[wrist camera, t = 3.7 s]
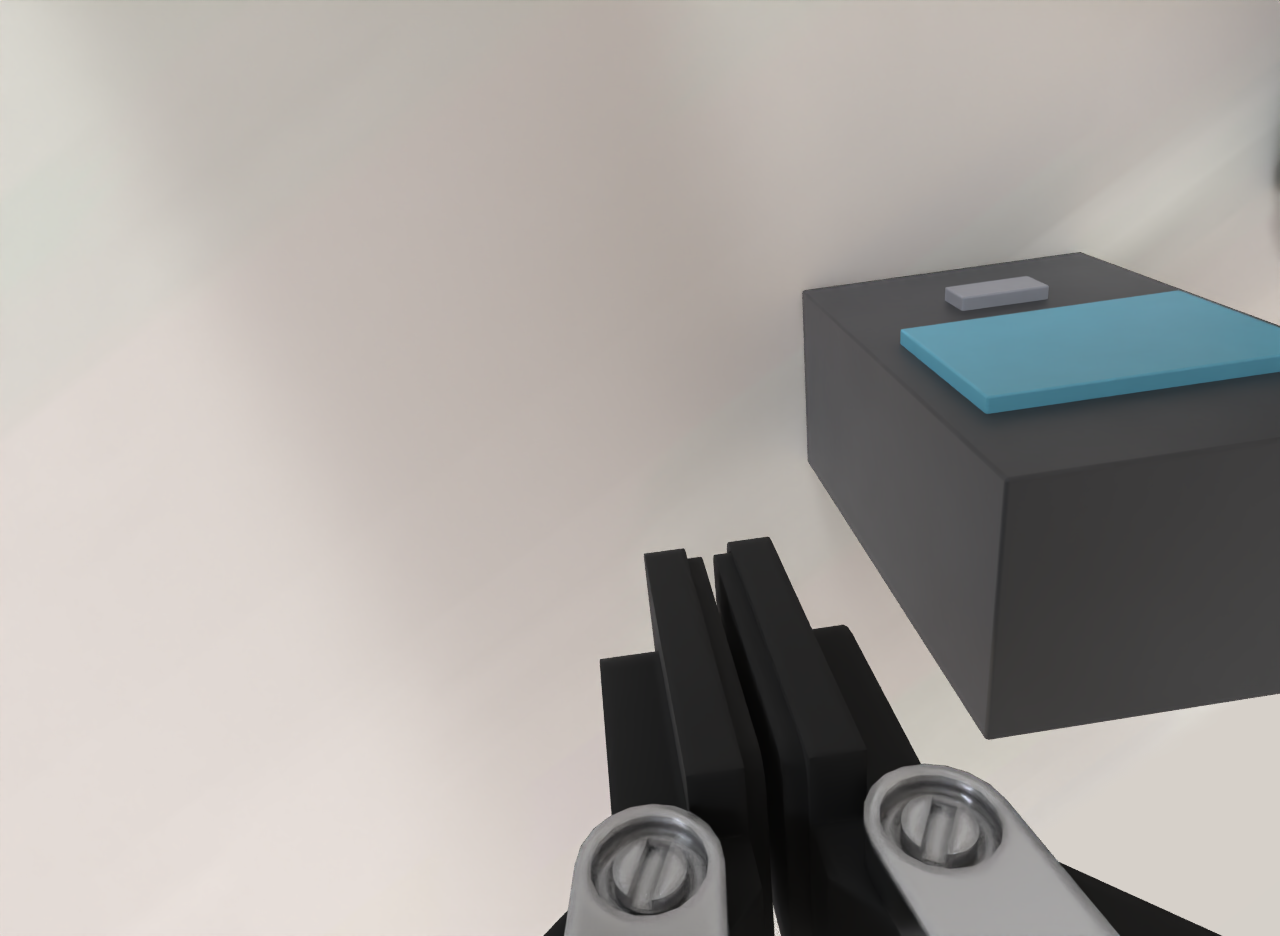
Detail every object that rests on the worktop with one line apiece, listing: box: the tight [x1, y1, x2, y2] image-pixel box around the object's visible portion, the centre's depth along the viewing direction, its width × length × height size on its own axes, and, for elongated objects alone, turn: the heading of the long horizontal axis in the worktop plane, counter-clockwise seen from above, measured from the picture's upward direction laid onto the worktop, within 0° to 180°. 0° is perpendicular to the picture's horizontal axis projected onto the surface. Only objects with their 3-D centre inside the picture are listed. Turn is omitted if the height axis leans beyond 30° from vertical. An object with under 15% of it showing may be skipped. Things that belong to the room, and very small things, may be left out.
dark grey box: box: [802, 252, 1280, 740], centre depth 15 cm, size 4×6×9 cm
